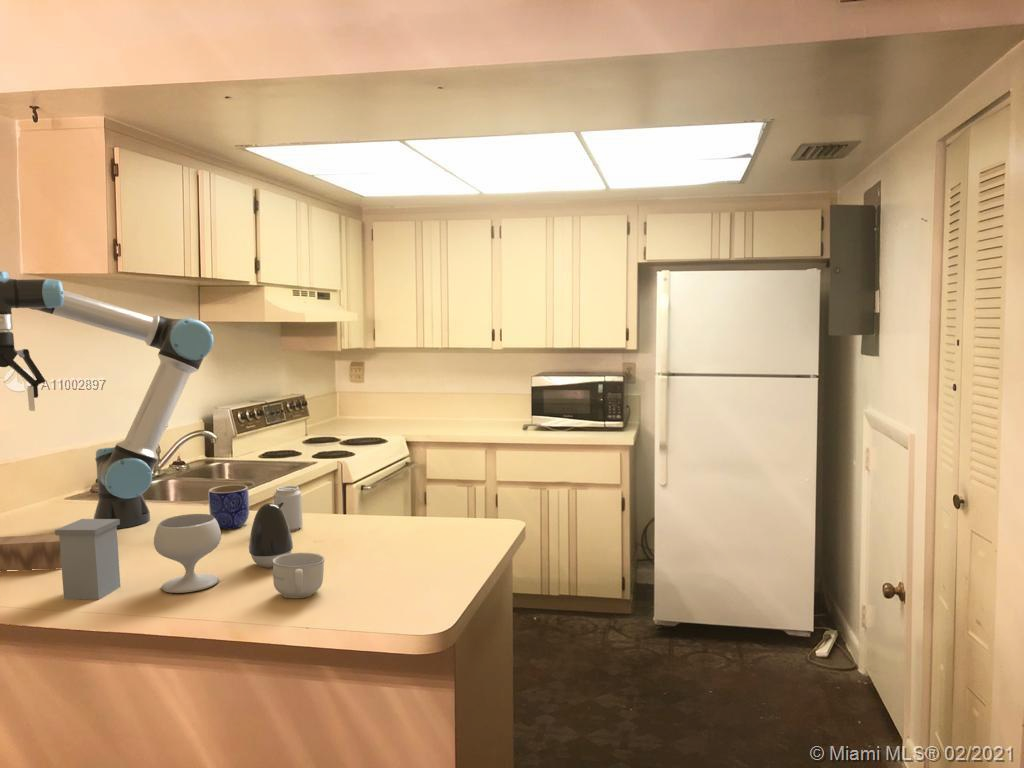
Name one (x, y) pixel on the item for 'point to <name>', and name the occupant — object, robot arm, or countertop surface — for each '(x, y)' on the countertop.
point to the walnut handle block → (30, 552)
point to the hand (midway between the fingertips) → (2, 413)
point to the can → (290, 505)
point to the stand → (89, 558)
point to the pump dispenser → (269, 535)
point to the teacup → (298, 574)
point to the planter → (229, 505)
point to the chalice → (188, 548)
